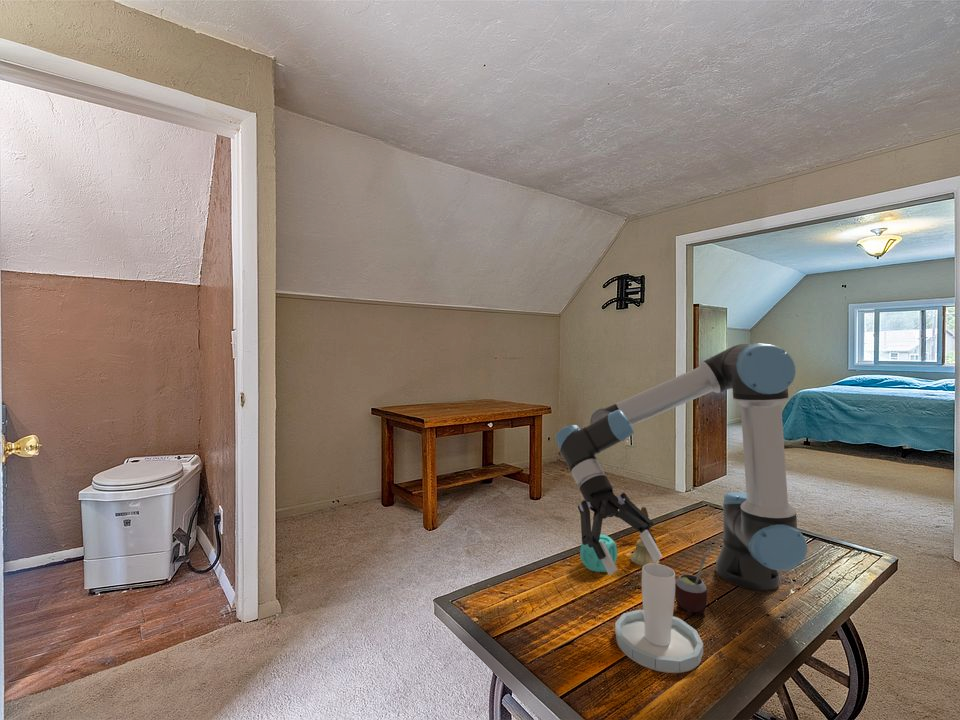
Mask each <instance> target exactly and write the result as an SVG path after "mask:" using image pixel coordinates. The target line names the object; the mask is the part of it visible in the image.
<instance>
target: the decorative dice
mask: <svg viewBox="0 0 960 720" xmlns="http://www.w3.org/2000/svg"><path fill="white" fill-rule="evenodd" d="M600 541H604V543H605V545H606V547H607V549H608V551H609V553H610V555H611V557H612V559H613V561H614V563H615V564H616V562H617V558H618V547H617V543H616V542H615V541H614V539H612V538H611V537H610V536H608V535H605V534H601V533H600V539H599V542H600ZM579 554H580V555H579V556H580V560H581V562H582V564H583V566H585V568H587V570H589V571H592V572H594V571H595V573H600V572H605V573H607V570H606V568H605V566H604V564H603V562H602V560H601V559H600V560H599V558H598V557H597V555H596V553H595V551H594V549H593V547H592V548H590V547H589V546H588V544H586V545H584V544H583V543H582V542H581V545H580V550H579Z"/></svg>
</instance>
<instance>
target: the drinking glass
mask: <svg viewBox="0 0 960 720" xmlns="http://www.w3.org/2000/svg"><path fill="white" fill-rule="evenodd" d="M676 581H677V580H676V572H675V571H674V569H673V568H671V567H669V566H667V565H664V564H661V563H659V564H655V563H651V564H646V565H644V566H641V598H642V610H643V613H644V635H645V638H646V639H647V640H648V641H649V642H650V643H652V644H654V645H657V646H667V645H669V644H670V642H671V630H672V620H673V616H674V609H675V600H676V595H675V589H676Z"/></svg>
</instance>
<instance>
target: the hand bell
mask: <svg viewBox="0 0 960 720" xmlns="http://www.w3.org/2000/svg"><path fill="white" fill-rule="evenodd" d="M640 510H641V511H642V512H643V513H644V514H645V515H646V516H647V517H648V518H649V513H648V510H647V507H646V506H641V509H640ZM649 519H650V518H649ZM635 545H636V546H635V548H634V551H633V553H631V555H630V556H629V560H630V559H631V560H630V561H631V562H632V563H634V564H635V563H636V564H635V565H638V566H641V567H643V566H644V565H646V564H651V563H655V564H660V559H659V560H658V561H656V562H654V561H653V559H652V557H651V556H650V554H649V552H648V550H647V548H646V547H645V545H644V543H643V541H642V539H641V538H640V539H638V540H637V541H636V544H635Z"/></svg>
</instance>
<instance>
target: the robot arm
mask: <svg viewBox="0 0 960 720" xmlns="http://www.w3.org/2000/svg"><path fill="white" fill-rule="evenodd" d="M795 377H796V364H795V361H794V360H793V358H792V356H791V355H790V354H789V352H787V351H786V350H784V349H783V348H782V347H780V346H777V345H774V344H769V343H765V342H763V343H762V342H761V343H760V342H758V343H742V344H741V343H740V344H737V345H734V346H731V347H729V348H727V349H725V350H723V351H721V352H719V353H717V354H714V355H713V356H711V357H709V358H708V359H707V358H706V359H705V360H703V361H701V362H700V363H699V366H698V367H696V368H693V369H691V370H689V371H687V372H685V373H683V374H680V375H678V376H677V375H676V377H673V378H671V379H669V380H666V381H664V382H662V383H660V384H657V385H655V386H653V387H650V388H648V389H645V390H644V391H641V392H639V393H637V394H635V395H632V396H630V397H627V398H625V399H623V400H621V401H618V402H616V403H614V404H612V405H610V406H607V407H603V408H602V407H601V408H598V409H596V410H595V411H594V412H593V413H592V415H591V417H590V420H589V421H590V424H589V425H587V426H585V427H582V428H581V427H580V426H579V425H577V424H570V425H567V426H564V427H562V428H561V429H559V430H558V432H557V433H556V434H555V442H556V445H557V447H558V449H559V452H560V453H561V455H562V457H563V459H564V461H565V463H566V464H567V467H568V469H569V472H570V473H571V475H572V477H573V479H574V482H576V485H577V487H579V491H580V493H581V495H582V497H583V500H582V501H581V502H580V503H579V504H578V505H577V509H578V511H579V513H580V529H581V530H580V531H581V544H582V543H583V544H584V545H586V544H588V546H589V547H590V548H592V547H593V549H594V551H595V553H596V555H597V557H598V558H599V560H600V559H601V560H602V562H603V564H604V566H605V568H606V570H607V572H606V573H607V574H608V576H611V575H613V574H614V573H615V572H617V571H619V570H618V567H617V565H616V563H614V561H613V559H612V557H611V555H610V553H609V551H608V549H607V547H606V545H605V543H604V541H600V542H599V539H600V534H601V533H602V526H603V521H604V519H607V518H613V517H614V518H616V519H617V518H619V519H621V520H622V521H623V522H624V523H626V524H628V526H631V527H632V528H634V529H635V530H636V531H638V532H639V534H638V535H639V537H640V540H641V539H642V541H643V543H644V545H645V547H646V548H647V550H648V552H649V554H650V556H651V557H652V559H653V561H654V562H656V561H658V560H659V561H660V559H661V558H663V554H662V553H661V551H660V549H659V548H658V547H659V546H657V539H656V538H655V537H654V535H653V533H652V531H651V530H650V529H651V528H652V527H653V526H654V522H653V520H652V519H650V518H648V517H649V516H648V517H647V516H646V515H645V514H644V513H643V512H642V511H641V509H640V508H639V507H638V506H637V505H636V504H634V503H633V502H632V500H630V499H629V497H628V495H626V493H625V492H621V494H619V495H617V496H616V495H615V493H614V489H613V486H612V483H611V482H610V481H609V478H608V476H606V475H605V474H606V473H605V471H604V469H603V468H602V465H601V464H600V463H599V460H598V458H597V456H596V455H598V454H600V453H601V452H603V451H605V450H607V449H609V448H611V447H613V446H615V445H617V444H619V443H621V442H623V441H625V440H627V439H628V438H629V437H631V436H632V435H634V432H635V431H634V428H633V426H634V425H636V424H639V423H641V422H643V421H644V422H645V421H646V420H649V419H652V418H653V417H655V416H658V415H660V414H662V413H665V412H667V411H669V410H672V409H674V408H677V407H679V406H682V405H684V404H686V403H689V402H691V401H693V400H695V399H698V398H700V397H703V396H706V395H707V394H708V395H709V393H712V392H713V393H716V394H720V393H722V392H724V391H728V390H730V389H732V399H733V401H735V402H736V403H737V404H739V406H740V417H741V429H742V430H741V433H742V447H743V448H742V449H743V459H744V460H743V461H744V462H743V463H744V474H745V475H744V477H745V490H746V492H745V491H744V492H743V491H731V492H727V493H725V495H724V497H723V503H722V507H723V509H722V510H723V522H722V523H723V524H722V525H723V527H722V529H723V531H722V534H723V536H722V537H723V538H722V540H723V541H722V542H723V543H722V545H721V549H720V551H719V554H718V556H717V559H716V562H715V572H716V574H717V576H719V577H720V578H721V579H723V580H724V581H726V582H728V583H729V584H732V585H734V586H737V587H740V588H743V589H748V590H752V591H764V592H765V591H773V590H775V589H777V588H778V587H779V585H780V574H779V571H789V570H792V569H794V568H796V567H797V566H798V565H799V564H802V562H803V561H804V560H805V558H806V557H807V554H808V542H807V540H806V538H805V537H804V535H803V533H801V531H800V530H798V518H797V510H796V509H795V508H794V507H793V505H791V504H790V503H789V501H788V500H789V499H788V482H787V470H786V456H785V454H786V453H785V441H784V423H783V411H782V410H783V408H782V405H783V404H784V403H785V402H786V401H788V400H789V387H790V385H791V384H792V383H793V382H794V380H795ZM590 510H591V511H592V512H593V517H592V520H593V521H592V522H591V512H590ZM591 523H592V524H591Z"/></svg>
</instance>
